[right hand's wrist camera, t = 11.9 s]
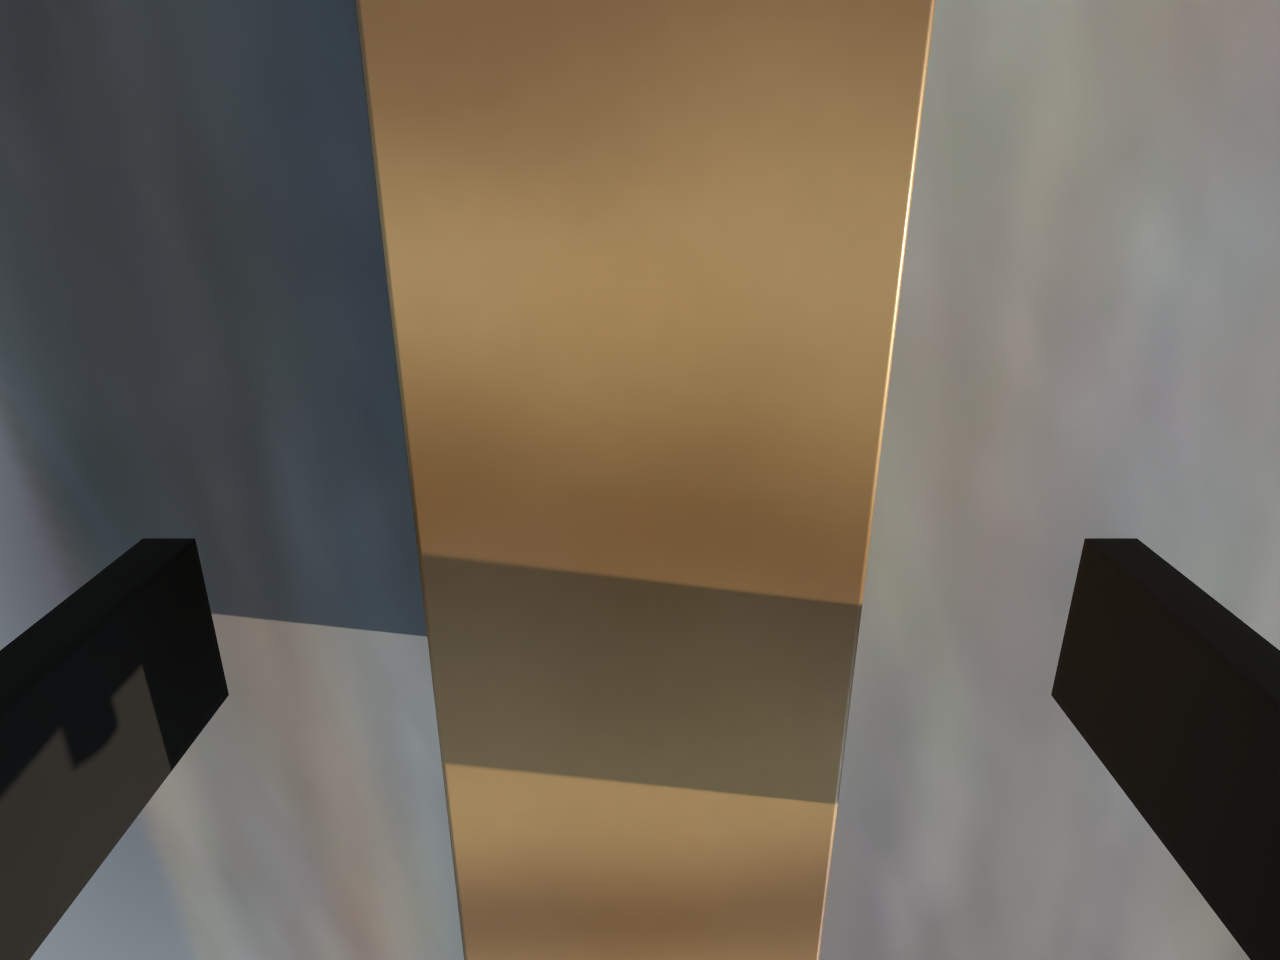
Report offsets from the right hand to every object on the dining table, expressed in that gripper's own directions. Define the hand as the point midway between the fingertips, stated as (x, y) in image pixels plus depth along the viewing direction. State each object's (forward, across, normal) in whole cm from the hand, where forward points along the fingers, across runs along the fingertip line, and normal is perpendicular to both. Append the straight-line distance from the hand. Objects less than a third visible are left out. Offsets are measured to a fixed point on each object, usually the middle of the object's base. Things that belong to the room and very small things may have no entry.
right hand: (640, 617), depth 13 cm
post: (+5, 0, -29) cm, 30 cm away
